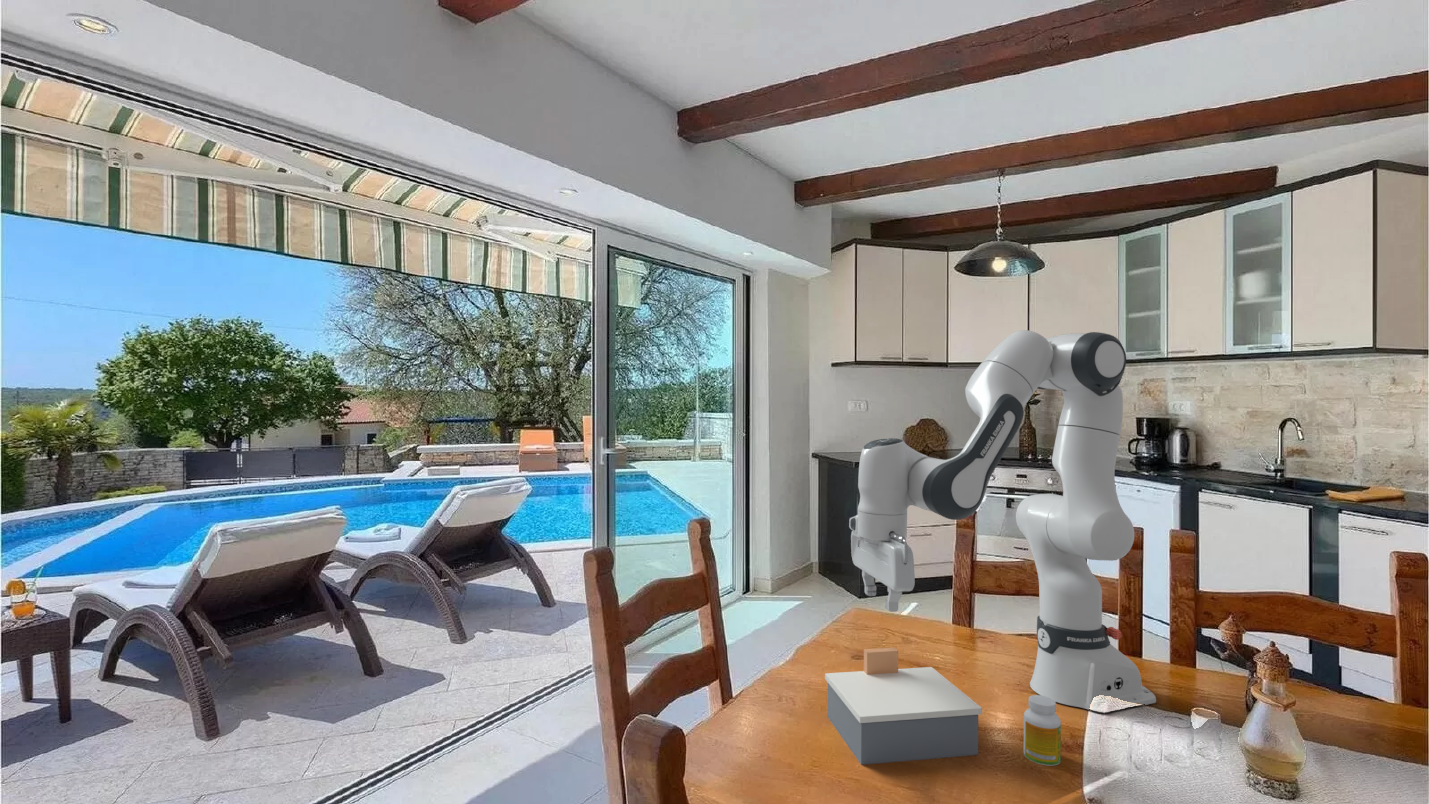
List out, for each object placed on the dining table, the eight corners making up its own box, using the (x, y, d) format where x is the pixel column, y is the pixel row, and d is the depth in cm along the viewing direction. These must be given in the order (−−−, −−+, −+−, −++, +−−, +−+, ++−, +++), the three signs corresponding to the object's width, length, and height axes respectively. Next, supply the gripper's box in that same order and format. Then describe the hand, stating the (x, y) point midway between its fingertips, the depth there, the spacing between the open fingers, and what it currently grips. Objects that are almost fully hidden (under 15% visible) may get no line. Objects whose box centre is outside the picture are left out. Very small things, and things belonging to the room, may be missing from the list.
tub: (930, 712, 122) (930, 675, 122) (978, 758, 107) (978, 715, 107) (827, 719, 119) (827, 681, 119) (861, 768, 103) (861, 723, 103)
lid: (931, 672, 123) (931, 645, 123) (982, 714, 106) (982, 683, 106) (824, 678, 120) (825, 651, 120) (860, 723, 103) (860, 691, 103)
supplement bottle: (1065, 771, 103) (1065, 709, 103) (1028, 767, 104) (1028, 705, 104) (1054, 753, 108) (1055, 694, 108) (1019, 749, 109) (1020, 691, 110)
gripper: (925, 538, 111) (923, 620, 111) (876, 517, 131) (874, 587, 131) (889, 538, 110) (888, 621, 110) (845, 517, 130) (844, 587, 130)
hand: (880, 602), depth 120 cm, fingers open, 8 cm apart
